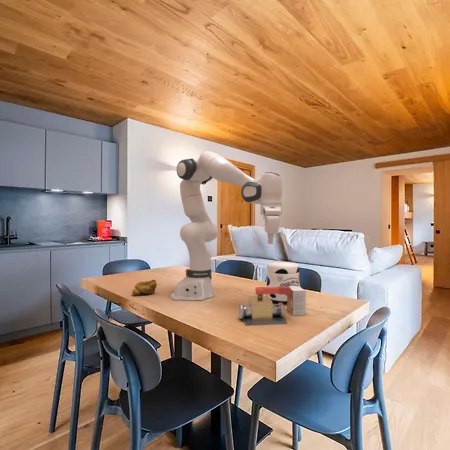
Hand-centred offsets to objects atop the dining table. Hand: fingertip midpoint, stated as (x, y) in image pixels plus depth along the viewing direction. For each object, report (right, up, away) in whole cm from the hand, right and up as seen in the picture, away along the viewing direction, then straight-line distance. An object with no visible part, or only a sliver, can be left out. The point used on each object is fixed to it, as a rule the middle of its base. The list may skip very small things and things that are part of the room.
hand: (270, 243), depth 117 cm
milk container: (+10, -30, +21) cm, 38 cm away
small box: (+11, -30, +2) cm, 32 cm away
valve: (-5, -30, -5) cm, 31 cm away
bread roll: (-64, -30, +35) cm, 79 cm away
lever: (0, -20, -5) cm, 21 cm away
